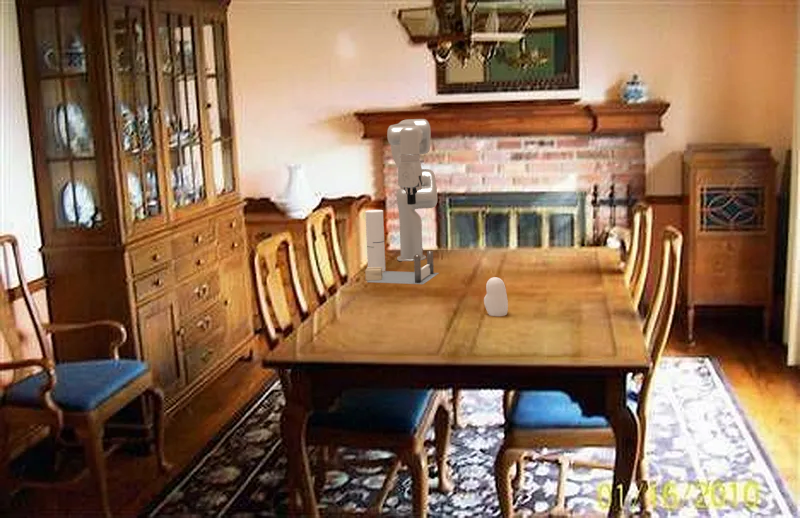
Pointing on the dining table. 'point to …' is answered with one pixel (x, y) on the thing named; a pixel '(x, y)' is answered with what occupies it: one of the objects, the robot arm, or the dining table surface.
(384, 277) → the slate mat
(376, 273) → the block
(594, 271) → the dining table surface
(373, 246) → the cylindrical container
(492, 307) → the figurine
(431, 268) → the gate posts
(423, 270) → the gate
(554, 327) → the dining table surface
